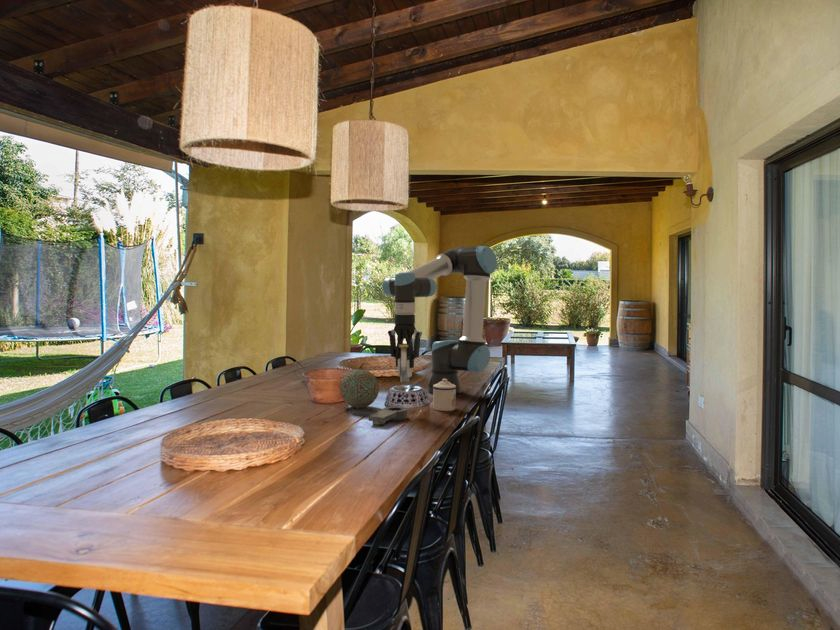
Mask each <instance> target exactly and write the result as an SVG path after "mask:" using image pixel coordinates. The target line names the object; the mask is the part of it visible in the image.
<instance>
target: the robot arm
mask: <svg viewBox="0 0 840 630" xmlns="http://www.w3.org/2000/svg"><path fill="white" fill-rule="evenodd" d="M497 266H498V261H497V255H496V253H495V252H494V250H493V249H492V248H491V247H489V246H486V245H475V246H473V245H472V246H470V245H468V246H458V247H455V248H451V249H449V250H446V251H444V252H442V253H440V254H438V255H436V256H435V258H434V259H432V260H430V261H428V262H426V263H424V264H421V265H420V266H416V267H415V268H413V269H410V270H409V271H407V272H406V271H405V272H401V271H400V272H396V273H395V274H394V276H389V277H386V278H384V280H383V281H382V286H381V288H382V292H383V293H384V294H385V295H386V296H390V297H394V313H395V314H394V327H393V328H392V330H388V331H387V334H388V336H389V346H390V356H391V357H393V358H394V359H395V367H396V368H397V377H401V348H399V347H398V344H403V343H404V341H405V343H407V345H408V348H407V349H408V356H409V358H408V360H407V377H409V378H410V377H412V376H413V368H414V367H415V359H417V358H419V357H420V347H421V346H420V345H421V337H422V334H423V332H422V331H419V330H417V328H416V327H415V325H416V324H415V323H416V316H415V313H416V298H428V297H433V296H434V295H435V294H436V291H437V283H436V281H435V279H437V278H440V277H442V276H448V275H450V274H462V276H463V278H464V279H465V281H466V283H465V296H464V297H465V298H464V299H465V300H464V306H463V307H464V309H463V323H462V336H460V338H458V339H448V340H438V341H434V342H433V343H432V345H431V346H432V347H431V375H430V378H429V381H428V383H427V392H428V393H429V394H433V385H434V384H437V383H439V382H441V381H442V379H447V381H448V382H450V383H451V384H454V385H456V395H459V394H461V393H462V385H461V382H460V378H459V374H458V373H459V371H463V372H469V373H481V372H483V371H484V370H485V369H486V368H487V367H488V365H489V363H490V359H491V351H490V348H489V347H488V346H487V345H486V340H485V339H484V338H483V330H484V319H485V317H484V316H485V305H486V304H485V303H486V294H487V293H486V291H487V282H488V281H489V280H490V279H491V274H493V273H495V272H496V269H497ZM396 335H397V338H396ZM413 336H414V342H413Z"/></svg>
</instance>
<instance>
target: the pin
mask: <svg viewBox="0 0 840 630" xmlns="http://www.w3.org/2000/svg"><path fill="white" fill-rule="evenodd" d="M398 347H399V348H401V376H400V382H401V383H410V377H407V360H408V358H409V356H408V349H407V348H408V345H407V342H405V343H404V342H403V344H398Z"/></svg>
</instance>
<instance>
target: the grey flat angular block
mask: <svg viewBox="0 0 840 630" xmlns="http://www.w3.org/2000/svg"><path fill="white" fill-rule="evenodd" d="M351 412H352V413H351V414H352V416H359V417H360V416H361V417H368V421H369V422H372V426H373V427H384V426H385V422H388V421H390V422H391V421H393V422H396V421H406V420H408V409H407V407H404V406H385V407H383V408H382V409H376V408H367V407H364V408H361V407H360V408H355V409H352V411H351Z"/></svg>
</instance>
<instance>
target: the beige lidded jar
mask: <svg viewBox="0 0 840 630" xmlns="http://www.w3.org/2000/svg"><path fill="white" fill-rule="evenodd" d="M432 394H433V395H432V409H433V410H434V411H440V412H452V411H455V410H456V396H457V394H456V385H454V384H451V383H450V382H448V381H447V379H442V381H441V382H439V383H437V384H434V385H433V393H432Z"/></svg>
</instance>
